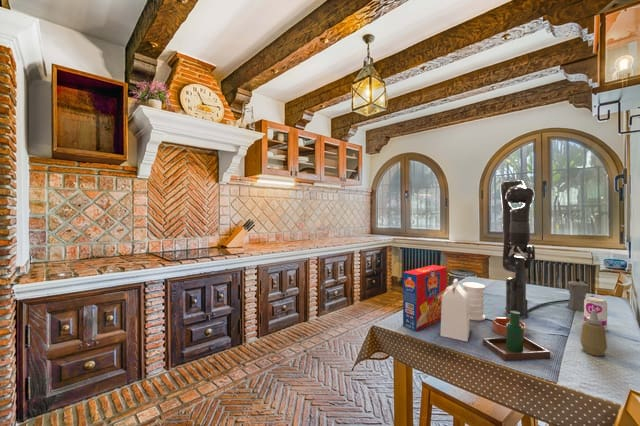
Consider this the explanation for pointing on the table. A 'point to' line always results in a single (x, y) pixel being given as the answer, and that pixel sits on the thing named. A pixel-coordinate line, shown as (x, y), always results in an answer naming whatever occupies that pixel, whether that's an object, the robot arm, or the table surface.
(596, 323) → the squeeze bottle
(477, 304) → the decorative container
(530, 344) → the tray
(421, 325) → the pasta box
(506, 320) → the bowl
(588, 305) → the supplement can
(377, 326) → the table surface
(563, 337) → the table surface
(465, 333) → the milk
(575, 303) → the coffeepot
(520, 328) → the bottle
